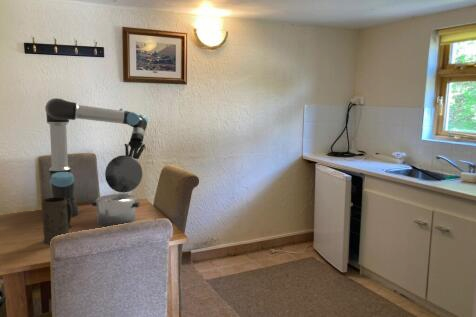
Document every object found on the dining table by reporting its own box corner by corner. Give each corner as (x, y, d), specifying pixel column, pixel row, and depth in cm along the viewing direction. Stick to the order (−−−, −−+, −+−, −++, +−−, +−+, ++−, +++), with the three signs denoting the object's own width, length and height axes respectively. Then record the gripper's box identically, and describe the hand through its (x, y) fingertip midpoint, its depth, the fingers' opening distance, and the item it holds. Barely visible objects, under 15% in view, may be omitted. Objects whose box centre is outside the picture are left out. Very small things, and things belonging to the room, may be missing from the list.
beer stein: (58, 245, 173) (58, 201, 171) (37, 243, 175) (36, 200, 173) (79, 236, 188) (78, 195, 186) (59, 234, 190) (59, 194, 188)
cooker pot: (85, 225, 201) (84, 202, 199) (102, 213, 222) (102, 192, 220) (133, 226, 200) (132, 204, 198) (145, 214, 221) (145, 194, 219)
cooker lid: (106, 154, 220) (108, 155, 223) (104, 192, 218) (106, 191, 222) (142, 155, 219) (144, 156, 222) (140, 193, 217) (142, 192, 221)
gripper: (149, 140, 243) (141, 171, 229) (128, 139, 244) (120, 171, 230) (146, 132, 237) (138, 164, 223) (125, 132, 238) (116, 163, 224)
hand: (129, 167), depth 227 cm, fingers closed
